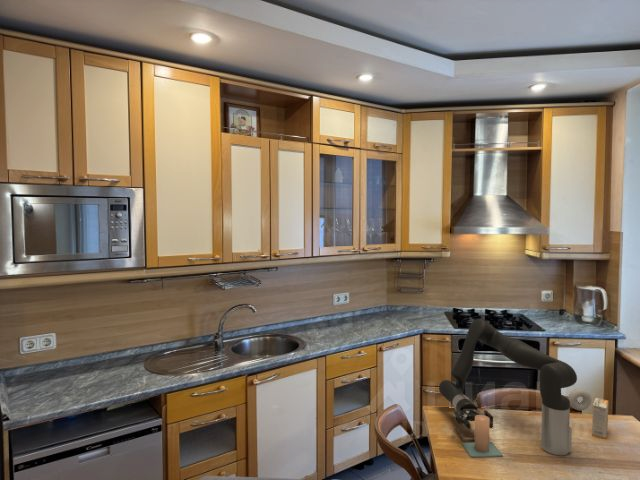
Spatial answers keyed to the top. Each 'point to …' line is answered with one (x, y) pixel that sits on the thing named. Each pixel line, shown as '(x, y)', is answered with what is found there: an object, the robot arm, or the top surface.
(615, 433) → the top surface
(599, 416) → the supplement box
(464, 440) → the holder
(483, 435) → the tall tan cylinder
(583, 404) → the grey round disc
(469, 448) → the mat
